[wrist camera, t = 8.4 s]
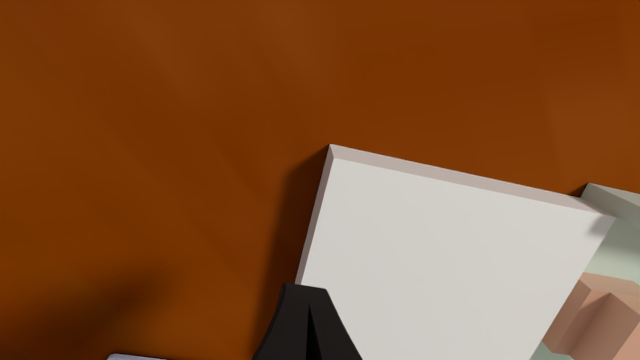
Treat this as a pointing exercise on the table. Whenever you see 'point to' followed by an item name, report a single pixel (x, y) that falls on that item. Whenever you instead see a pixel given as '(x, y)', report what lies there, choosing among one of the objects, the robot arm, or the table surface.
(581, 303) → the tile
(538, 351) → the box
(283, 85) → the table surface
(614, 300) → the tile
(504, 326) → the board
